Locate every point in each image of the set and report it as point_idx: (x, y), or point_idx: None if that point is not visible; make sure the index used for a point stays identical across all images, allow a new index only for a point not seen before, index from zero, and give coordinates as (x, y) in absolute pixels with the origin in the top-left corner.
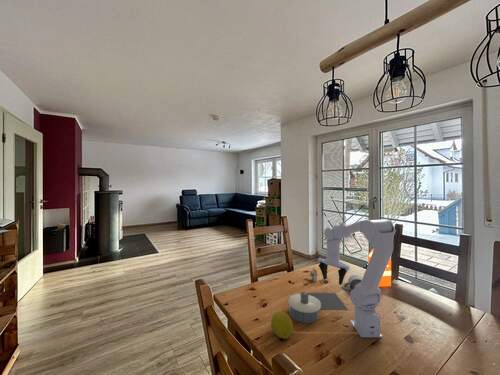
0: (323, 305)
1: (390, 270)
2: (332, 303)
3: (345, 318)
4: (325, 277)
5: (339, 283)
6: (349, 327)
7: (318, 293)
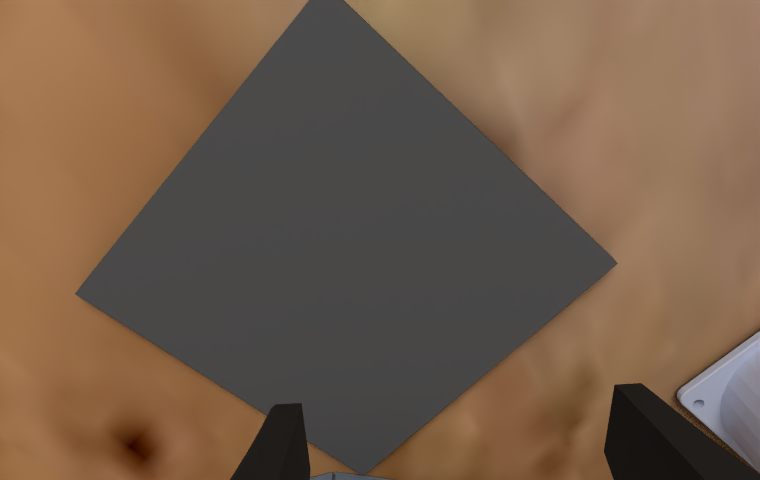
0: (386, 371)
1: None
2: (436, 273)
3: (625, 375)
4: (304, 475)
5: (623, 477)
6: None
7: (181, 193)
